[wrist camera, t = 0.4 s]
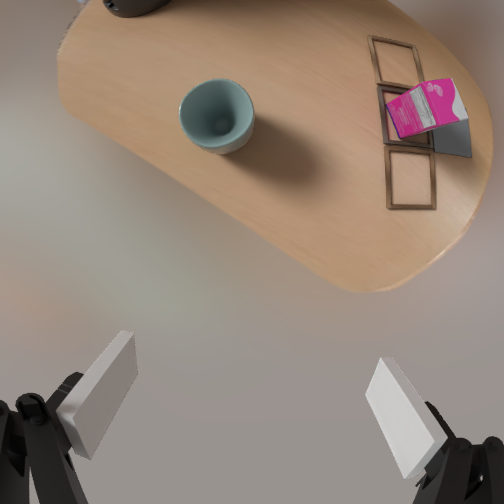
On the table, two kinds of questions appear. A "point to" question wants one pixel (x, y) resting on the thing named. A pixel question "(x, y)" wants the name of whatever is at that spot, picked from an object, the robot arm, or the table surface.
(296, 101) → the table surface
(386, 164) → the frame
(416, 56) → the frame
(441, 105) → the supplement box
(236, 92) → the cup
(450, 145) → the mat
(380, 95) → the frame
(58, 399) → the robot arm
